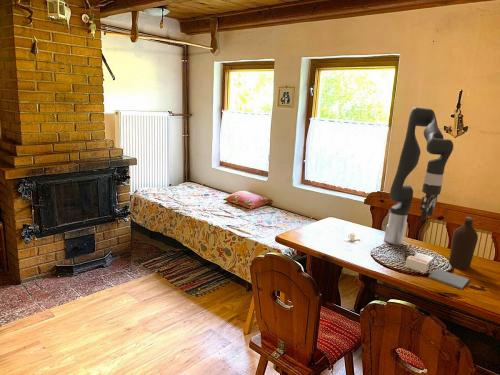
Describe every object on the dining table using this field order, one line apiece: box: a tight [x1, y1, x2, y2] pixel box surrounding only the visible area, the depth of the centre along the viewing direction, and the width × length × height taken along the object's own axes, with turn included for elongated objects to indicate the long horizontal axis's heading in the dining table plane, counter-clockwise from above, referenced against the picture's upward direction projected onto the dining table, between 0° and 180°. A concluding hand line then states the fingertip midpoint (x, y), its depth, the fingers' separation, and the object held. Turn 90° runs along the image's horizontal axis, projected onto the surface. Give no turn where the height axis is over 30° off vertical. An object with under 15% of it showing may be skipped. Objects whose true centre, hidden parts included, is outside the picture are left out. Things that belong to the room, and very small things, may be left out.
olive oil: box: [448, 216, 479, 270], centre depth 183 cm, size 11×11×25 cm
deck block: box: [404, 255, 430, 274], centre depth 177 cm, size 9×4×5 cm, turn 48°
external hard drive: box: [414, 252, 435, 264], centre depth 189 cm, size 2×8×12 cm
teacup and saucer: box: [344, 232, 361, 244], centre depth 209 cm, size 9×8×4 cm
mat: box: [428, 268, 470, 290], centre depth 169 cm, size 14×12×1 cm
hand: (426, 217), depth 171 cm, fingers open, 8 cm apart
